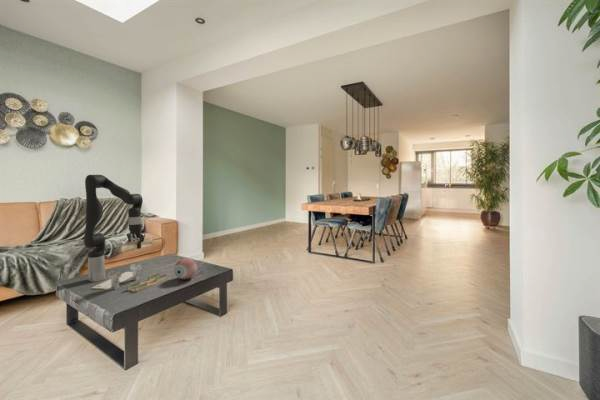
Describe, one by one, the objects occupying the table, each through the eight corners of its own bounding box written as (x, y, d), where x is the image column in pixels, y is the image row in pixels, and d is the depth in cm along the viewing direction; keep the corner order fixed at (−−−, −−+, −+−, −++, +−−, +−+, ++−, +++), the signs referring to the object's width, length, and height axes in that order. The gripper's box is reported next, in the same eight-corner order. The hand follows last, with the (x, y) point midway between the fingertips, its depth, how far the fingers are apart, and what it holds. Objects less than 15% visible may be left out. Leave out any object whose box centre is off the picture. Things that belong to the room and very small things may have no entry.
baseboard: (141, 274, 201) (126, 273, 202) (141, 270, 200) (126, 269, 202) (108, 290, 170) (91, 289, 171) (107, 286, 170) (91, 285, 171)
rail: (118, 252, 167) (117, 245, 166) (148, 244, 190) (148, 237, 189) (122, 253, 166) (122, 245, 165) (152, 244, 189) (152, 238, 188)
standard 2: (130, 280, 186) (129, 265, 186) (134, 278, 190) (134, 263, 189) (137, 281, 185) (137, 265, 184) (142, 279, 188) (141, 264, 188)
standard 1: (109, 289, 171) (108, 272, 170) (114, 286, 174) (113, 270, 174) (116, 290, 169) (116, 273, 169) (121, 287, 173) (121, 271, 172)
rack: (125, 290, 169) (125, 286, 168) (157, 276, 194) (156, 272, 193) (136, 292, 166) (136, 287, 166) (167, 277, 191) (167, 273, 191)
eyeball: (169, 282, 183) (169, 261, 182) (182, 274, 198) (181, 255, 197) (189, 283, 181) (189, 262, 180) (200, 275, 196) (200, 256, 195)
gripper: (121, 224, 175) (123, 249, 176) (138, 224, 171) (140, 250, 172) (131, 222, 182) (133, 246, 183) (148, 222, 178) (149, 247, 179)
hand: (136, 248), depth 178 cm, fingers closed on rail, 3 cm apart
